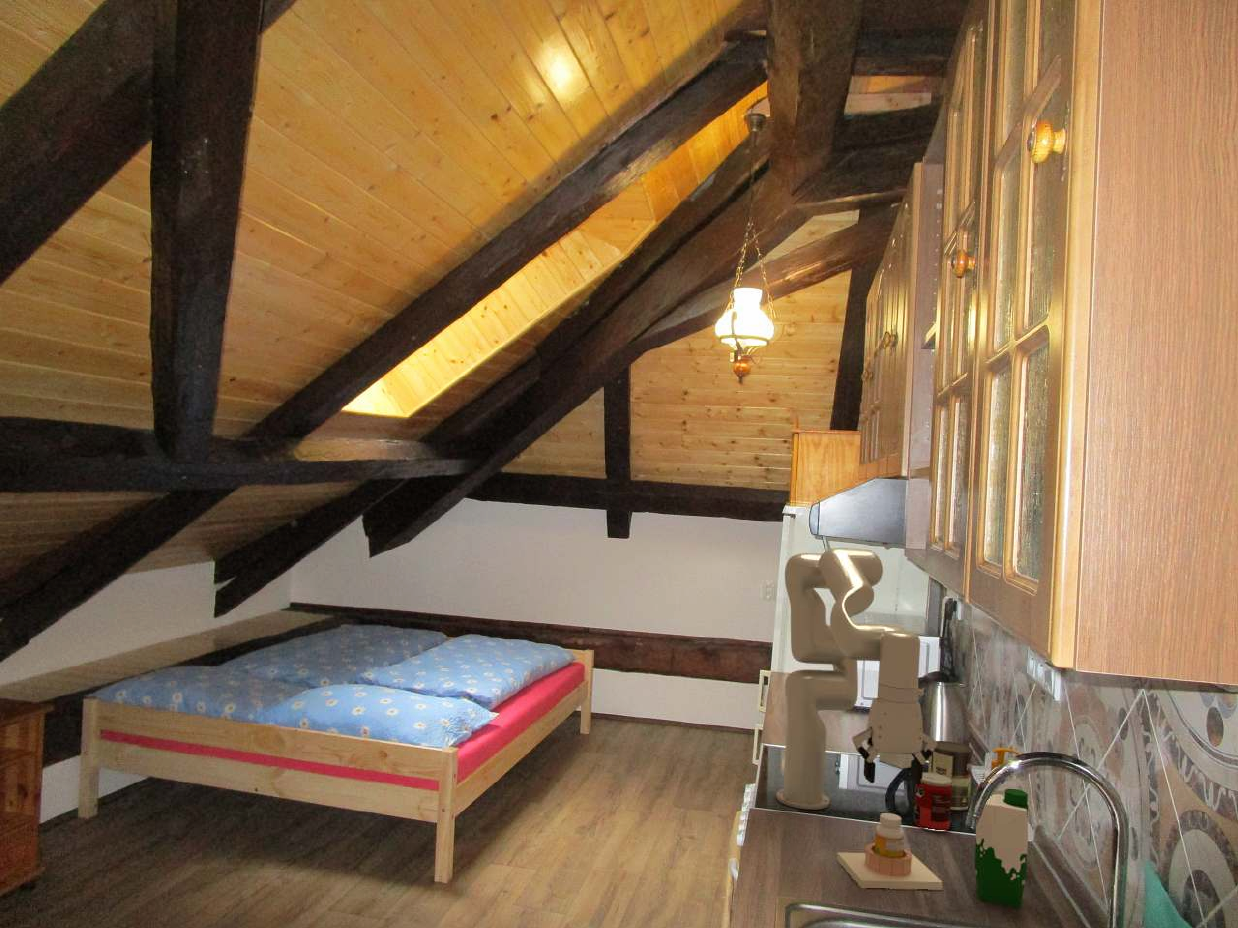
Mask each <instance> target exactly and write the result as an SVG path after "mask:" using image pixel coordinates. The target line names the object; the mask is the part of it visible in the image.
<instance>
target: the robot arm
mask: <svg viewBox="0 0 1238 928" xmlns="http://www.w3.org/2000/svg"><path fill="white" fill-rule="evenodd" d="M883 571H884V568H883V563H882V560H881V559H880V556H879V555H878V554H877V553H876V552H874V551H872V550H870V549H863V548H848V547H847V548H846V547H845V548H844V547H837V548H830V549H827V550H824V552H823V553H820V552H819V553H817V552H816V553H815V552H805V553H804V552H803V553H798V554H797V553H796V554H794V555H792V556H791V557H790V558H789V559H788V560H787V562H786V564H785V569H784V584H785V589H786V593H787V596H788V599H789V605H790V650H791V653H792V654H791V655H792V657H793V659H794V660H795V661H796V662H798V663H801V664H807V665H809V664H810V665H832V670H831V669H830V670H829V669H827V670H826V669H806V668H805V669H798V670H794V671H792V672H791V673H790V674H788V675H787V677H786V679H785V685H784V690H785V700H786V732H785V733H786V736H785V755H784V756H785V757H784V772H783V788H781V789H779V790H777V792H776V797H775V798H776V799H777V800H778V802H780V803H781V804H783V805H785V806H788V807H791V808H795V809H801V810H807V811H808V810H810V811H812V810H813V811H815V810H823V809H827V808H828V807H829V805H830V798H829V797H828V796H827V795H825V794H824V784H825V771H826V770H825V769H826V767H825V765H826V751H827V734H828V733H827V726H826V724H825V723H824V721H823V719H822V718H821V716H820V714H819V711H820V712H821V711H849V710H851V709H853V708H854V707H855V705H856V704H857V702H858V701H857V700H858V694H859V692H858V691H859V690H858V689H859V686H858V685H859V682H858V679H859V677H858V662H862V661H863V662H868V661H869V662H879V667H878V668H879V669H878V684H877V697H873V698H872V702H871V706H870V709H869V714H868V719H867V726H866V730H863V731H861V732H859V733H857V734H855V735H854V736H852V737H851V740H852V743H853V745H854V746H855V749H856V751H857V752H858V753H859V754H860V756H861V757H862V759H864V761H863V777H864V778H865V780H866V781H867V782H869V783H870V784H875V779H876V762H874V760H875V759H876V758H877V757H878V755H880V753H895V754H912V756H913V757H914V760H912V761H911V767H910V777H909V778H910V779H909V780H910V781H911V782H913V783H914V784H915V783H916V784H917V785H920V784H921V779H922V775H923V773H924V772H923V771H924V770H923V769H924V765H925V764H926V762H927V760H929V757H930V756H931V755H932V752H933V751H934V749H935V748H936V746H937V742H936V741H937V740H935V739H933V737H931V736H929V735H927V734H926V733H924V732H923V731H924V730H923V727H924V726H923V716H922V707H921V704H920V702H919V697H924V695H925V691H924V689H923V688H922V689H920V688H919V675H920V674H919V672H920V655H921V654H920V653H921V640H920V637H919V635H917V634H916V633H914V632H909V631H906V630H905V629H904V628H903V627H901V626H898V625H895V624H877V623H855V622H854V621H852V617H855V616H857V615H860V614H862V613H863V612H865V611H866V610H868V609H869V607H870V606H871V605H872V604H873V603H874V600H875V592H874V591H875V590H874V588H873V587H875V586H876V585H878V584H879V583H880V582H881V580H882V579H883V578H882V577H883V574H884V572H883ZM815 589H825V590H829V592H830V594H831V595H832V597H833V599H834V601H835V602H834V603H833V606H832V608H831V611H830V617H829V624H827V620H826V619H827V618H826V616H827V614H826V613H827V609H826V604H825V602H824V600H823V599H822V597H821V596H820V594H819V593H818V591H817V590H815ZM863 742H865V743H866V745H867V748H865V747H864V746H863ZM923 742H925V747H924V748H923Z"/></svg>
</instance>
